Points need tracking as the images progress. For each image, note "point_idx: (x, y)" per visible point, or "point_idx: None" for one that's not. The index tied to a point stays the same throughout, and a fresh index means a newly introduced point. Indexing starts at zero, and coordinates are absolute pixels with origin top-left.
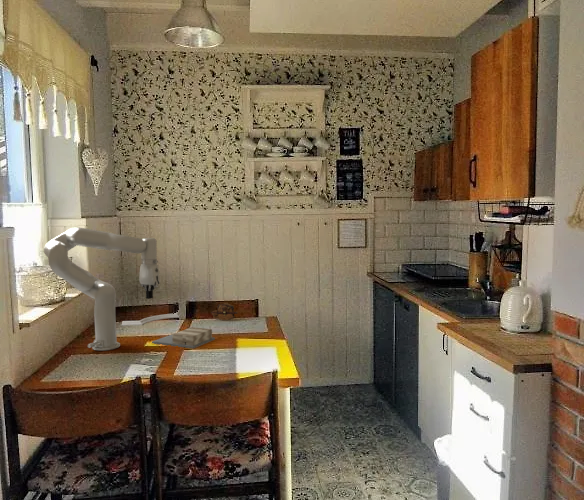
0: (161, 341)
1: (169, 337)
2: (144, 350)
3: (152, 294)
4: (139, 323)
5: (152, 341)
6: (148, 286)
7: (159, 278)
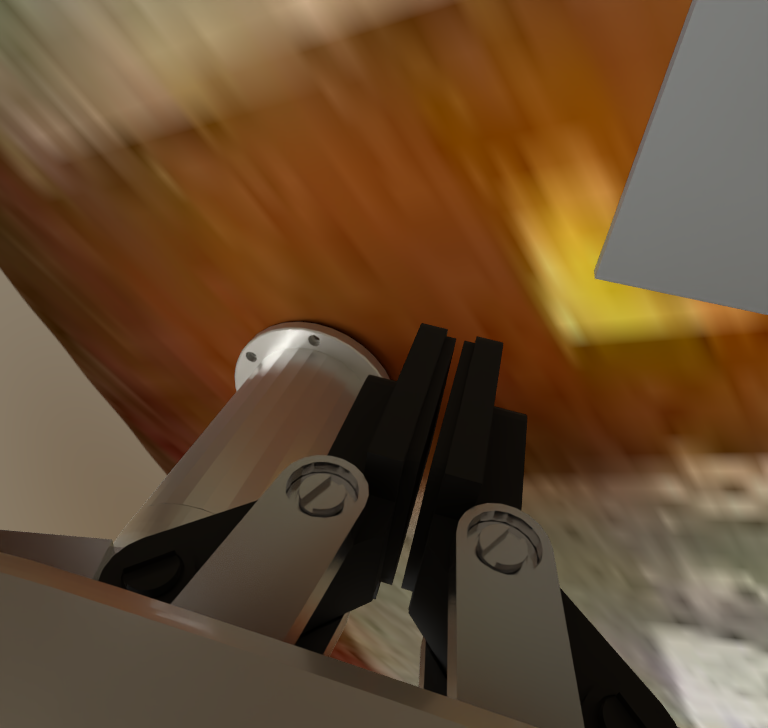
0: (694, 266)
1: (739, 95)
2: (617, 438)
3: (521, 452)
4: None
5: (599, 278)
6: (269, 593)
7: None
